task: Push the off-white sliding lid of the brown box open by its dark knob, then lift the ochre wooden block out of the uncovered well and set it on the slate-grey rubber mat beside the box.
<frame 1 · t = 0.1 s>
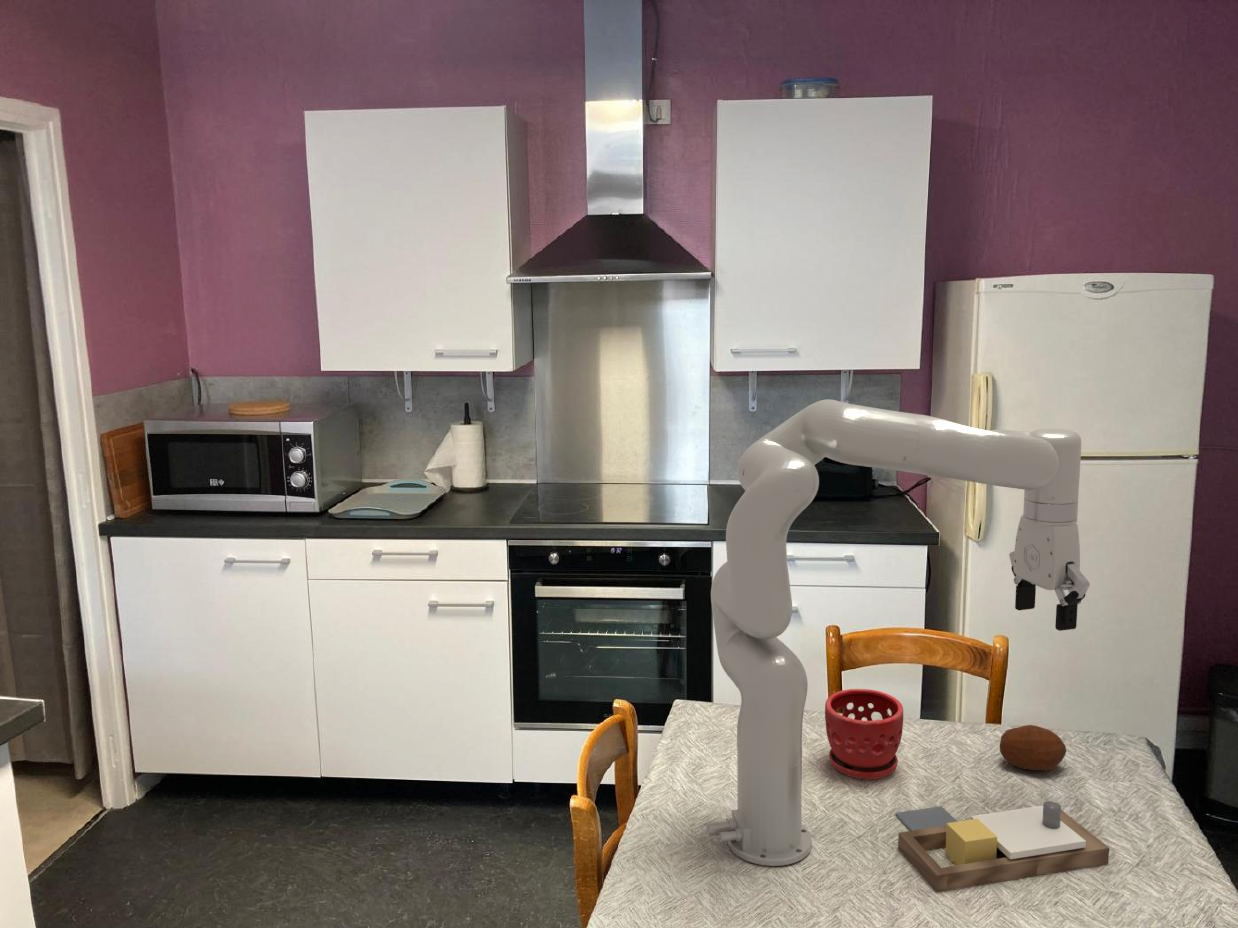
hand: (1044, 618, 150), 31 cm above the table, tool pointing down, fingers open, 9 cm apart
lid: (1027, 821, 142), point 5 cm above the table, slide at 0.0 cm
plant pot: (862, 768, 169), on the table
mat: (931, 824, 150), on the table
brown box: (1001, 855, 142), on the table
potato: (1031, 767, 168), on the table
block: (970, 861, 141), resting in brown box
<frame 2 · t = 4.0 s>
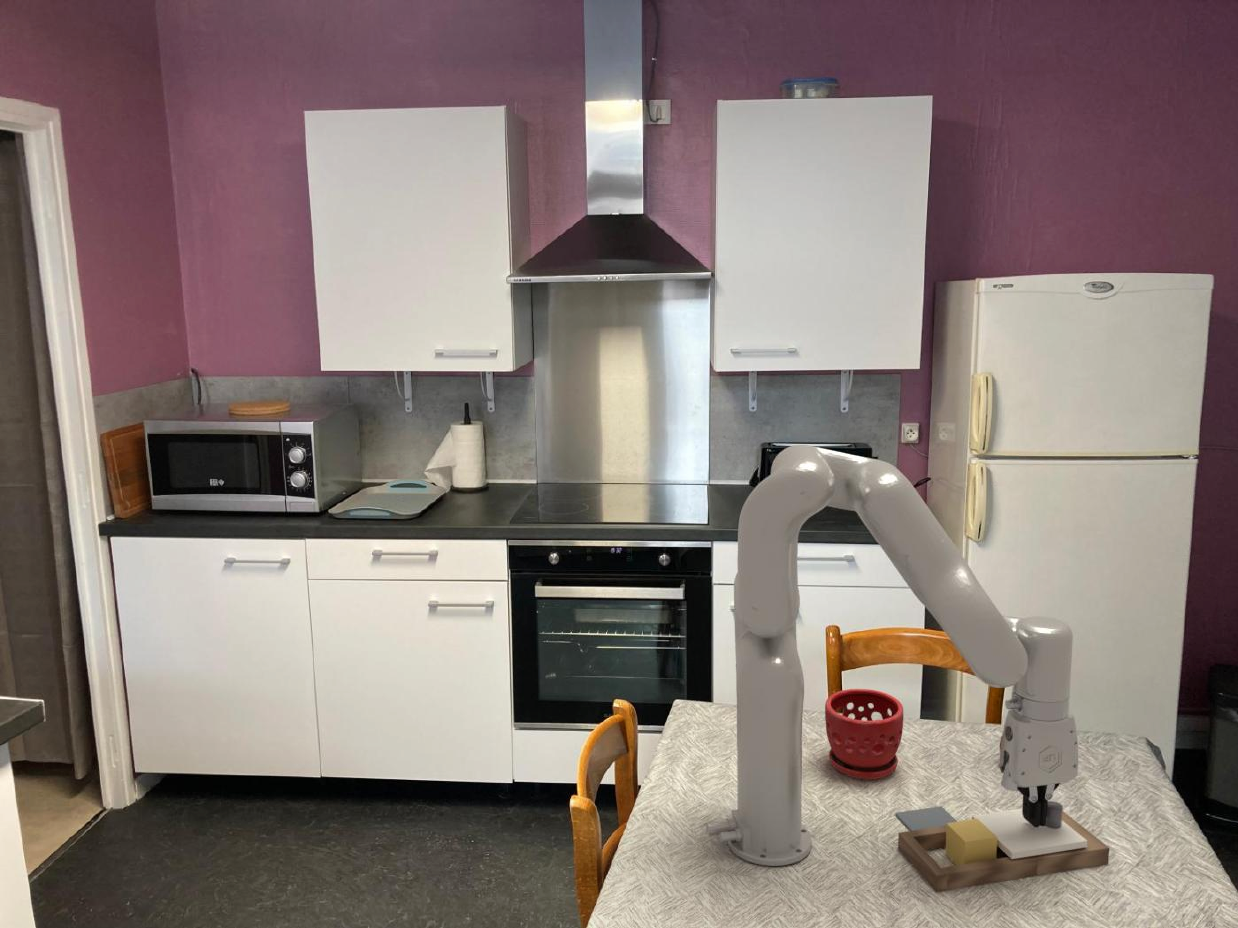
hand: (1034, 821, 142), 5 cm above the table, tool pointing down, fingers closed
lid: (1028, 821, 142), point 5 cm above the table, slide at 0.2 cm, touching gripper
everything else where it was.
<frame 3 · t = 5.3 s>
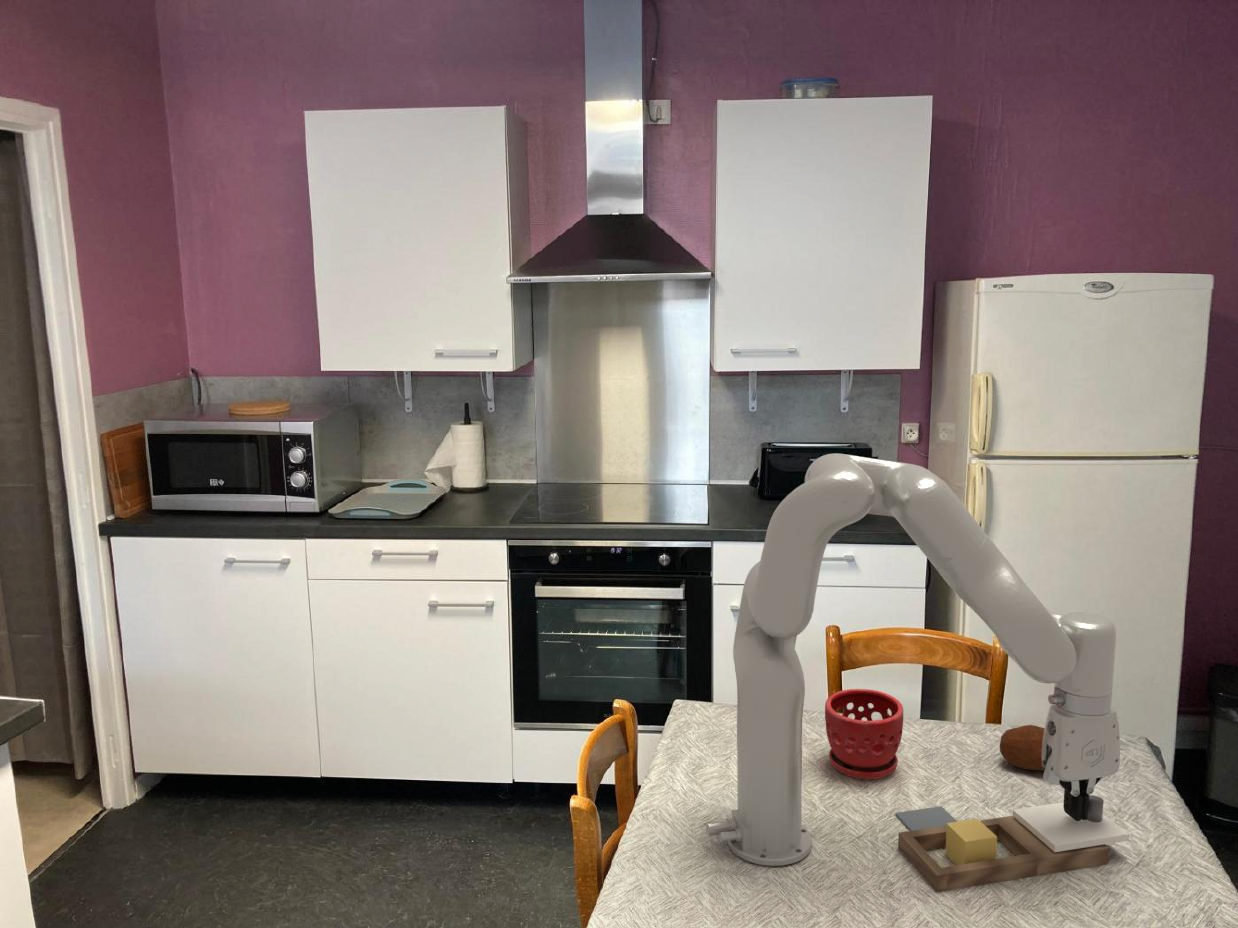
hand: (1075, 815, 143), 5 cm above the table, tool pointing down, fingers closed
lid: (1069, 815, 143), point 5 cm above the table, slide at 7.1 cm, touching gripper
everything else where it was.
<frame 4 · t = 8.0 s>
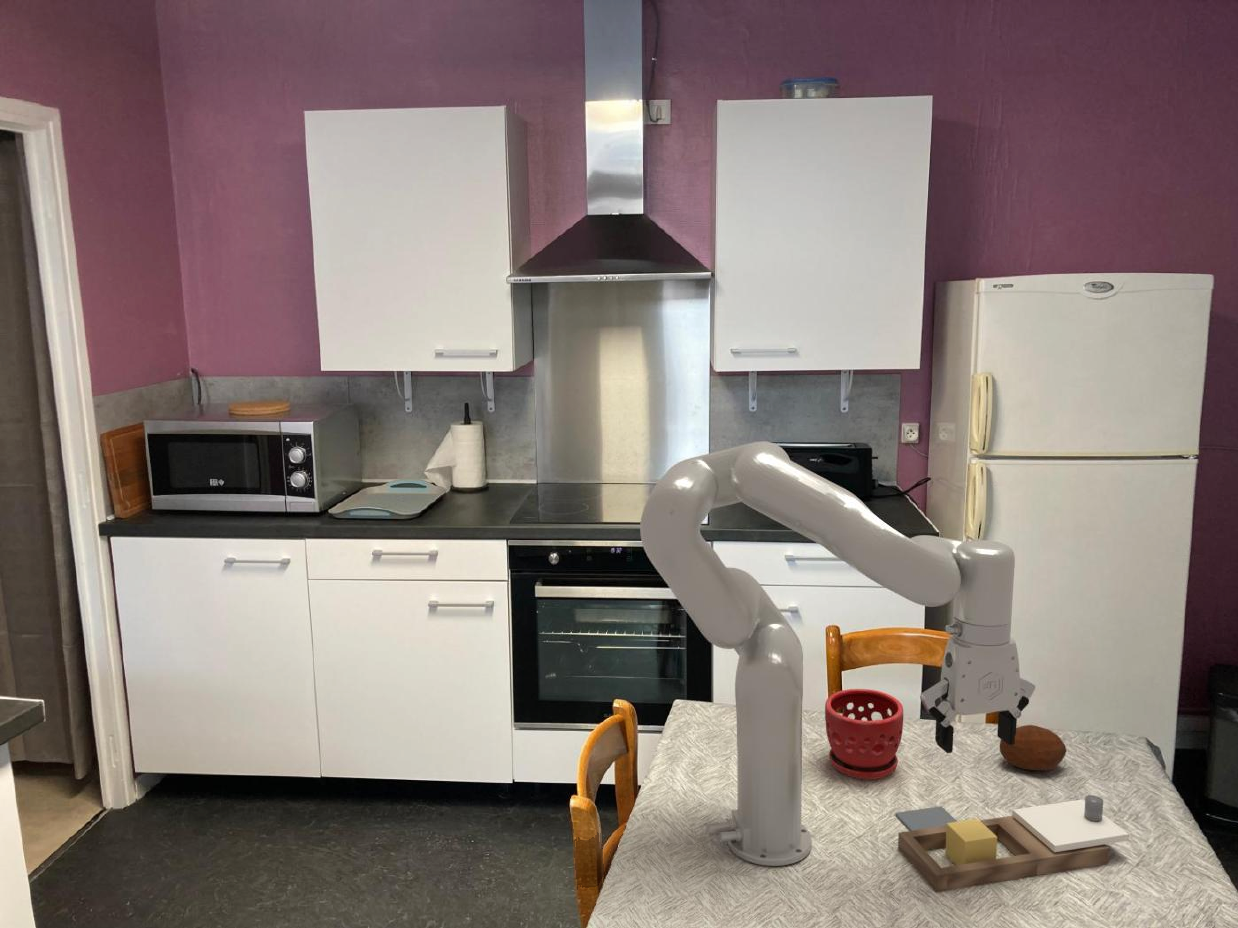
hand: (975, 744, 138), 18 cm above the table, tool pointing down, fingers open, 9 cm apart
lid: (1069, 815, 143), point 5 cm above the table, slide at 7.0 cm
everything else where it was.
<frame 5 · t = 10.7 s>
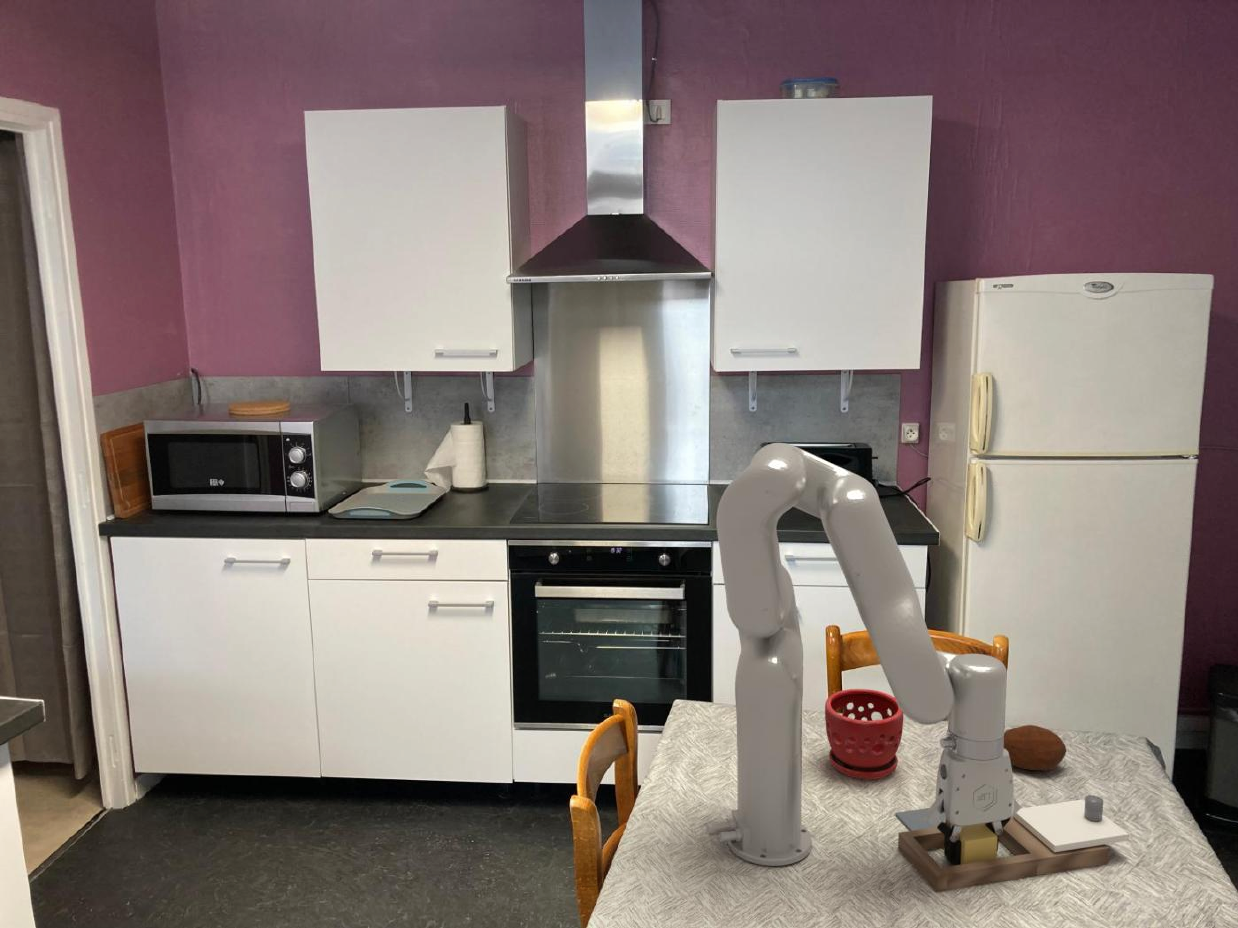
hand: (970, 857, 141), 0 cm above the table, tool pointing down, fingers closed on block, 5 cm apart
block: (970, 860, 141), resting in brown box, touching gripper
everything else where it was.
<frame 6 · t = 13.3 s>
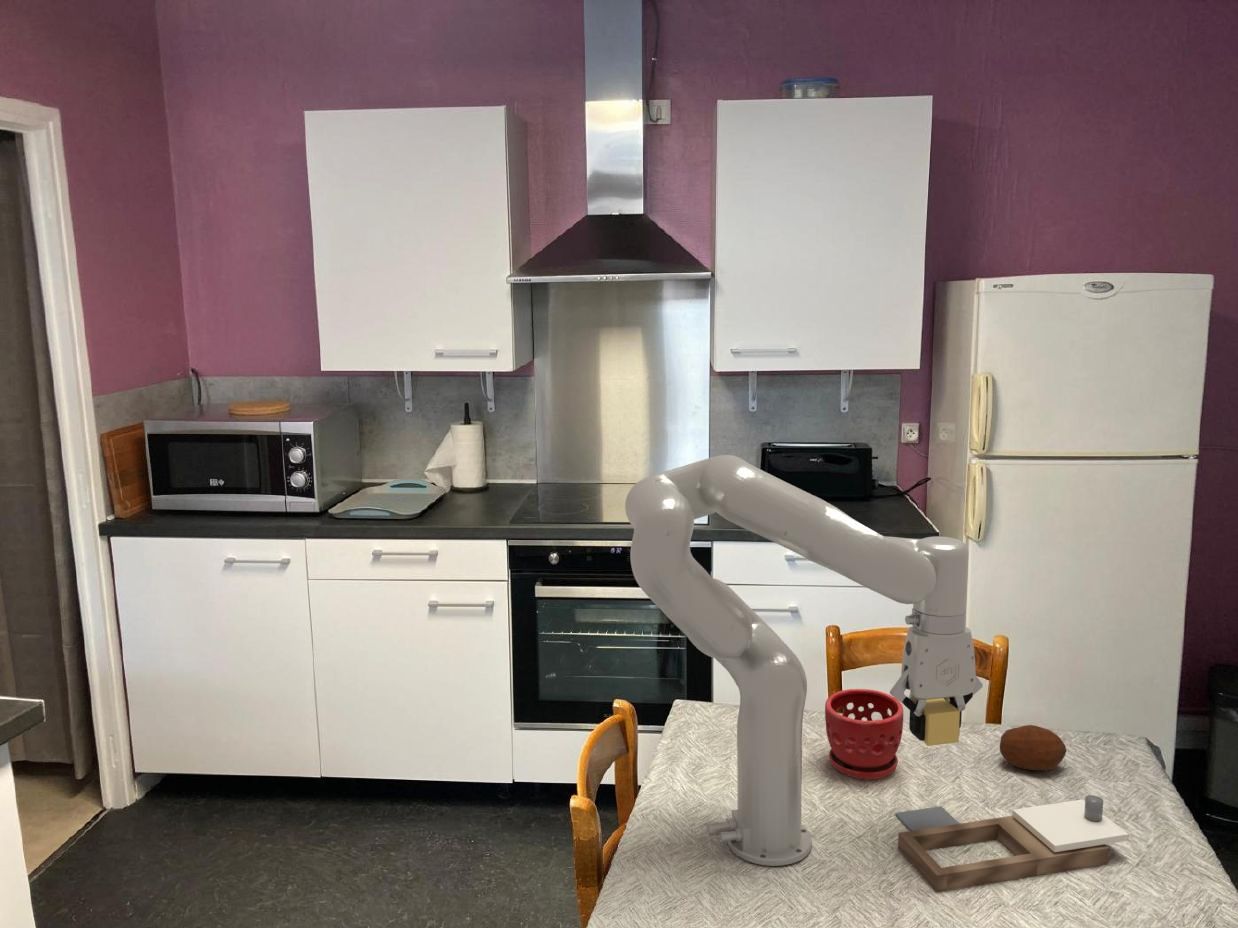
hand: (934, 733, 147), 15 cm above the table, tool pointing down, fingers closed on block, 5 cm apart
block: (934, 736, 148), point 15 cm above the table, touching gripper
everything else where it was.
when the fingers open (2 cm above the table, at t = 16.1 s): block drops 1 cm, resting on mat.
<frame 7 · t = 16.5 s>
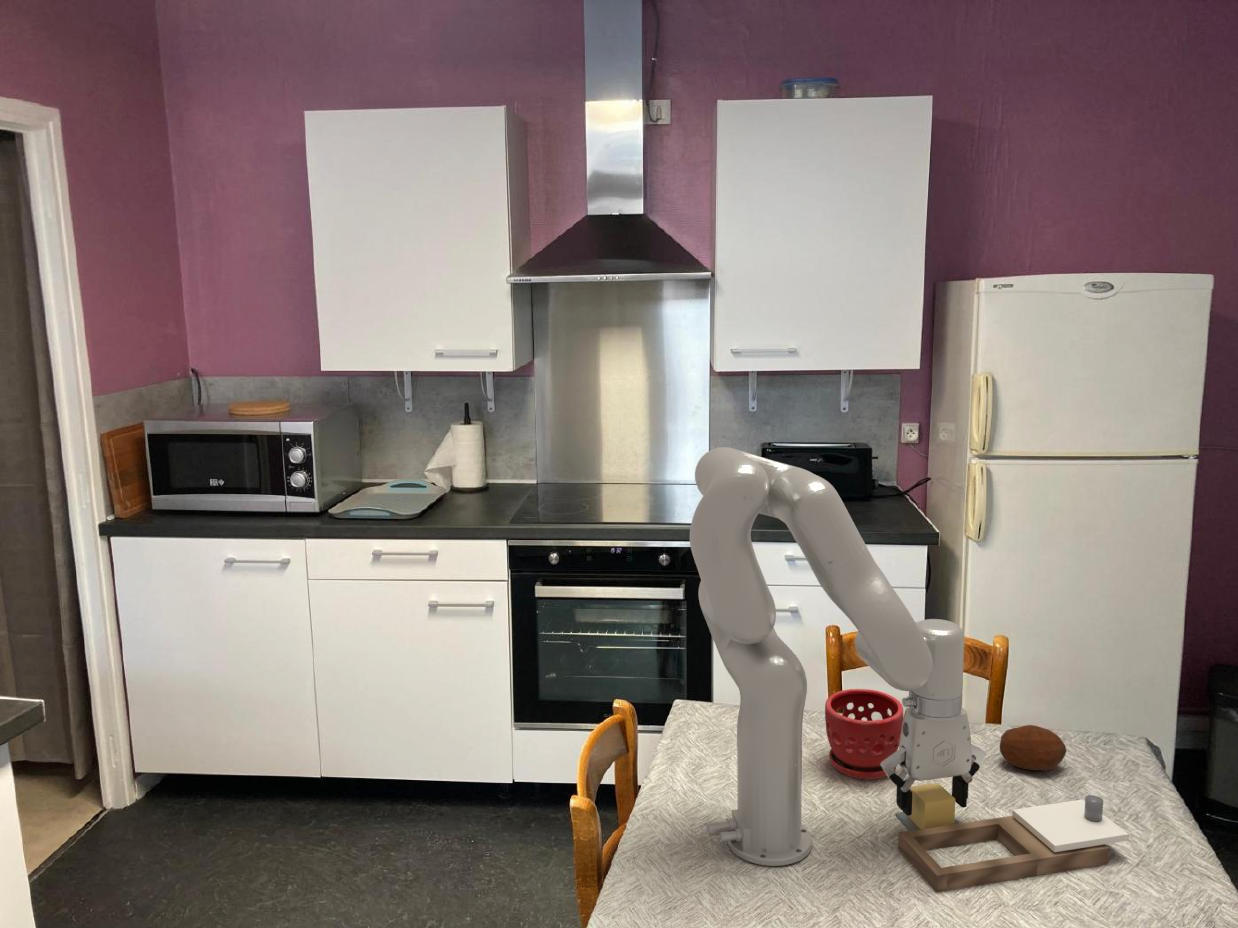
hand: (932, 806, 150), 3 cm above the table, tool pointing down, fingers open, 8 cm apart
block: (930, 822, 150), resting on mat
everything else where it was.
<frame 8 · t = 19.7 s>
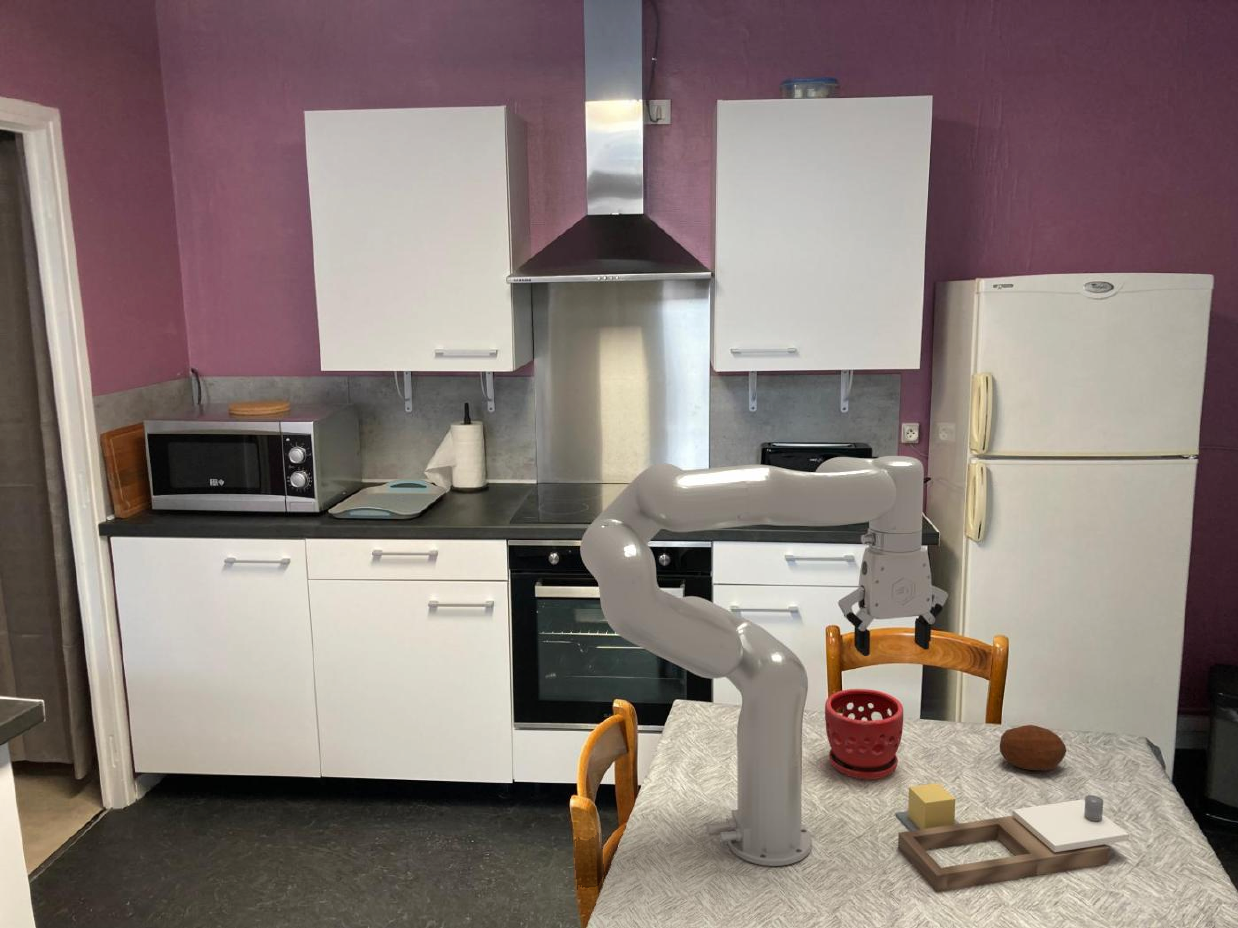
hand: (892, 649, 147), 28 cm above the table, tool pointing down, fingers open, 9 cm apart
nothing on the table moved.
at the end: lid slide at 7.0 cm; block 0.1 cm off-centre on the mat, point 0.4 cm above the mat's base; block tilted 0° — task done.
